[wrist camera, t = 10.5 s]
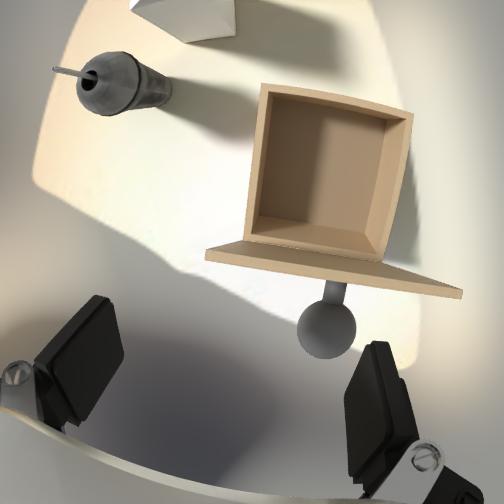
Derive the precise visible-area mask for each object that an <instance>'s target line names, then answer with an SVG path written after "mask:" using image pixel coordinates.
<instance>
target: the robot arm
mask: <svg viewBox="0 0 504 504" xmlns="http://www.w3.org/2000/svg"><path fill="white" fill-rule="evenodd" d="M123 358H124V351H123V347H122V343H121V339H120V334H119V329H118V325H117V321H116V315H115V311H114V305H113V303H111V302H110V299H109V298H107V297H103V296H99V295H94V296H93V297H92V298H91V299H90V300H89V301H88V302H87V303H86V304H85V305H84V306H83V307H82V308H81V309H80V310H79V311H78V312H77V313H76V314H75V315H74V316H73V318H72V319H71V320H70V321H69V322H68V323H67V324H66V325H65V326H64V327H63V328H62V329H61V330H60V331H59V332H58V334H57V335H56V336H55V337H54V338H53V339H52V340H51V341H50V342H49V343H48V345H47V346H46V347H45V348H44V349H43V350H42V351H41V352H40V354H39V355H38V356H37V357H36V358H35V359H34V362H35V364H34V365H33V366H32V365H31V364H30V363H29V362H27V361H24V360H18V361H14V362H12V363H10V364H9V365H8V366H7V367H6V368H5V369H4V371H3V374H2V378H0V504H484V498H483V494H482V492H481V490H480V489H479V488H478V487H477V486H475V485H473V484H472V483H470V482H469V481H467V480H466V479H464V478H463V477H461V476H459V475H458V474H457V473H455V472H453V471H452V470H450V469H449V468H448V467H446V466H445V465H444V463H445V455H444V452H443V450H442V448H441V447H440V446H439V445H438V444H437V443H435V442H433V441H431V440H426V439H423V440H420V438H419V434H418V430H417V426H416V422H415V418H414V414H413V410H412V406H411V402H410V399H409V395H408V392H407V388H406V384H405V382H404V380H403V379H402V378H399V375H398V371H397V368H396V365H395V361H394V358H393V355H392V351H391V348H390V345H389V343H388V342H384V341H372V342H371V344H367V345H366V346H365V348H364V351H363V353H362V356H361V358H360V360H359V363H358V365H357V367H356V370H355V372H354V374H353V376H352V378H351V381H350V383H349V385H348V387H347V389H346V391H345V395H344V407H345V421H346V435H347V452H348V474H349V476H350V477H353V484H361V483H362V484H363V490H364V491H365V492H364V493H363V494H362V495H361V496H360V497H359V499H324V498H323V499H322V498H301V497H287V496H276V495H266V494H258V493H251V492H244V491H238V490H231V489H226V488H221V487H216V486H211V485H206V484H201V483H198V482H193V481H189V480H185V479H181V478H178V477H174V476H171V475H167V474H164V473H160V472H157V471H154V470H151V469H148V468H145V467H142V466H139V465H136V464H133V463H131V462H128V461H125V460H122V459H120V458H117V457H115V456H112V455H110V454H107V453H105V452H102V451H100V450H98V449H95V448H93V447H91V446H89V445H87V444H84V443H82V442H80V441H78V440H76V439H74V438H72V437H69V436H68V435H66V431H65V426H64V425H65V423H66V421H68V422H69V423H72V424H74V425H76V426H78V427H79V425H80V423H81V421H85V420H86V419H87V418H88V416H89V414H90V412H91V411H92V409H93V408H94V406H95V404H96V403H97V401H98V399H99V398H100V396H101V395H102V393H103V391H104V390H105V388H106V387H107V385H108V383H109V382H110V380H111V378H112V377H113V375H114V374H115V372H116V371H117V369H118V367H119V366H120V364H121V363H122V361H123Z"/></svg>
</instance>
